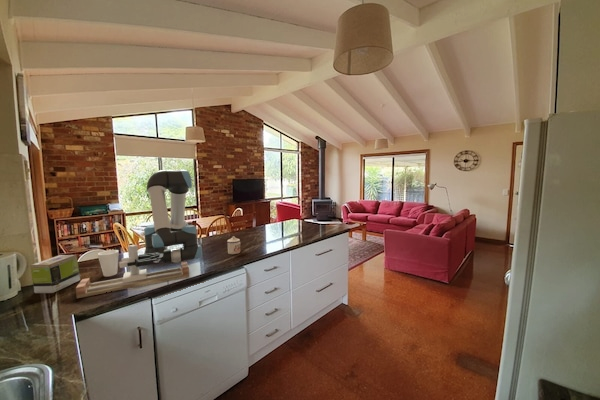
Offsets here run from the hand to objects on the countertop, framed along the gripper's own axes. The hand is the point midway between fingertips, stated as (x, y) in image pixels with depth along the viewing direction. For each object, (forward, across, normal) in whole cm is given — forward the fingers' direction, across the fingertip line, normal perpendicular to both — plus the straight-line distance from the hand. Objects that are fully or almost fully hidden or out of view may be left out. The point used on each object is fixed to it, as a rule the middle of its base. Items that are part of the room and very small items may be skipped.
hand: (120, 263), depth 129 cm
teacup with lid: (-64, +28, -12) cm, 71 cm away
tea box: (+30, +15, -13) cm, 36 cm away
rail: (-7, +1, -12) cm, 14 cm away
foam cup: (+9, +22, -12) cm, 27 cm away
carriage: (-5, +1, -9) cm, 11 cm away
